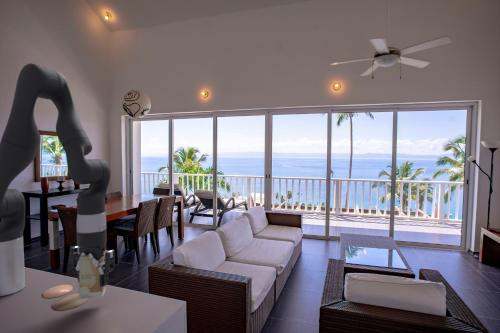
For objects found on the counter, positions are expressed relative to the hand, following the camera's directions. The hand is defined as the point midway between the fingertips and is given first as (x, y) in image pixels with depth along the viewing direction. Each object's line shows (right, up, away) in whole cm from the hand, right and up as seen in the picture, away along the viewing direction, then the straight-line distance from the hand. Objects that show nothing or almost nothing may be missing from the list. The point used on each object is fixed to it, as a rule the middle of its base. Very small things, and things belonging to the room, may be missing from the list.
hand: (93, 283), depth 84 cm
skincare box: (0, -4, 0) cm, 4 cm away
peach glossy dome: (-17, -7, +10) cm, 20 cm away
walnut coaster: (-8, -7, +3) cm, 11 cm away
